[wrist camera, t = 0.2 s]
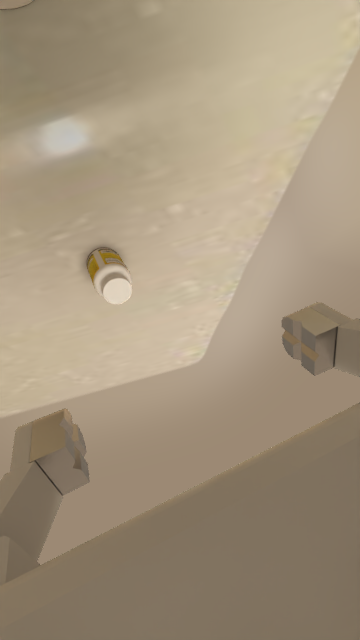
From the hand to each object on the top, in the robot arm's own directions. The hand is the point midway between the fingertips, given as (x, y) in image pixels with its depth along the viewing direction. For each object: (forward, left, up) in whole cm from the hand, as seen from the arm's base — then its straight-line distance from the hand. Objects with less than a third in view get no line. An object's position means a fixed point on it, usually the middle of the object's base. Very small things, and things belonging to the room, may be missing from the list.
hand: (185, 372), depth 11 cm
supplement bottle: (+13, 0, -39) cm, 41 cm away
